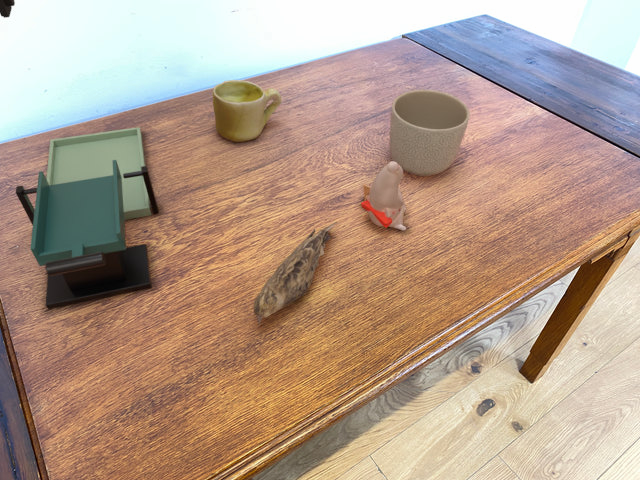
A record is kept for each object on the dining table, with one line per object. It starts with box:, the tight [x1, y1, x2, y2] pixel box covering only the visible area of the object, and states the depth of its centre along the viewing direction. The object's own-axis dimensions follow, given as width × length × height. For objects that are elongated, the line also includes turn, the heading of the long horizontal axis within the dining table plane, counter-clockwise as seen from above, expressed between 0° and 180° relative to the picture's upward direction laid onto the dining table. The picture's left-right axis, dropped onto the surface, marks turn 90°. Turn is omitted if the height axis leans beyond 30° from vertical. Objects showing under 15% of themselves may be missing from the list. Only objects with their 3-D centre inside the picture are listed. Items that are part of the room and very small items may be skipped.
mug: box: [212, 79, 282, 143], centre depth 93 cm, size 12×10×10 cm
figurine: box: [360, 160, 407, 231], centre depth 75 cm, size 9×7×12 cm
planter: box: [389, 89, 471, 177], centre depth 86 cm, size 12×12×11 cm
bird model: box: [253, 221, 338, 325], centre depth 69 cm, size 21×6×5 cm
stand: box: [15, 165, 160, 310], centre depth 70 cm, size 16×17×8 cm
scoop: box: [30, 160, 127, 276], centre depth 65 cm, size 19×10×4 cm, turn 18°
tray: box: [46, 126, 153, 221], centre depth 84 cm, size 23×15×2 cm, turn 18°
